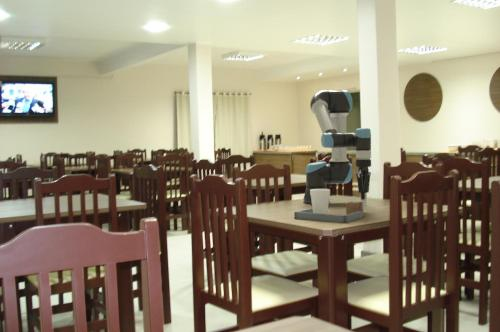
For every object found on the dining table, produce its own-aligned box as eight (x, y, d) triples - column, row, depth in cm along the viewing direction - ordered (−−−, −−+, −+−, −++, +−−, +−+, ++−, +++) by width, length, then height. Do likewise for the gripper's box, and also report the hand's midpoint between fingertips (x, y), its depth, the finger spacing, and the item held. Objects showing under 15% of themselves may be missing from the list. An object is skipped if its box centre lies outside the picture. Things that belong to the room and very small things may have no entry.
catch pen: (314, 213, 270) (314, 207, 270) (363, 217, 255) (363, 210, 255) (294, 218, 255) (294, 212, 254) (345, 222, 239) (345, 216, 239)
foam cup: (313, 218, 253) (313, 191, 252) (307, 215, 262) (307, 189, 261) (333, 217, 255) (332, 190, 254) (326, 214, 264) (326, 188, 263)
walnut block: (351, 213, 268) (351, 201, 268) (362, 214, 265) (362, 202, 264) (346, 214, 263) (346, 202, 263) (357, 215, 260) (357, 203, 259)
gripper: (361, 158, 279) (362, 203, 280) (351, 159, 268) (351, 206, 269) (375, 158, 274) (376, 204, 275) (365, 159, 264) (365, 207, 265)
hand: (363, 205), depth 272 cm, fingers closed
